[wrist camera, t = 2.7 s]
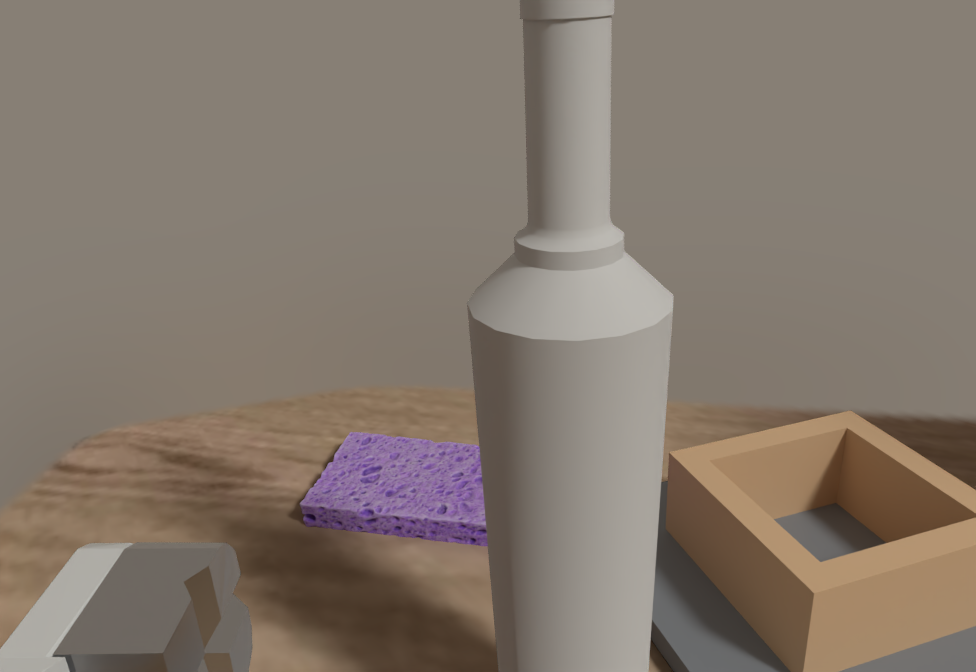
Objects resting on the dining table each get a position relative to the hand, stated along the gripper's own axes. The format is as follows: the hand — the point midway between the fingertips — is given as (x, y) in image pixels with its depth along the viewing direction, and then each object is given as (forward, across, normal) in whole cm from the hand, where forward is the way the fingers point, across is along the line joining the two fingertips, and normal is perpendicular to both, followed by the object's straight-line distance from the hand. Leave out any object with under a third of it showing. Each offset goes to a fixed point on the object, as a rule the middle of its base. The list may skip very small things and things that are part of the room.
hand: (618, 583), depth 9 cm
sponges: (+28, -5, -19) cm, 34 cm away
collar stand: (+20, +11, -18) cm, 29 cm away
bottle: (+12, 0, -18) cm, 22 cm away
